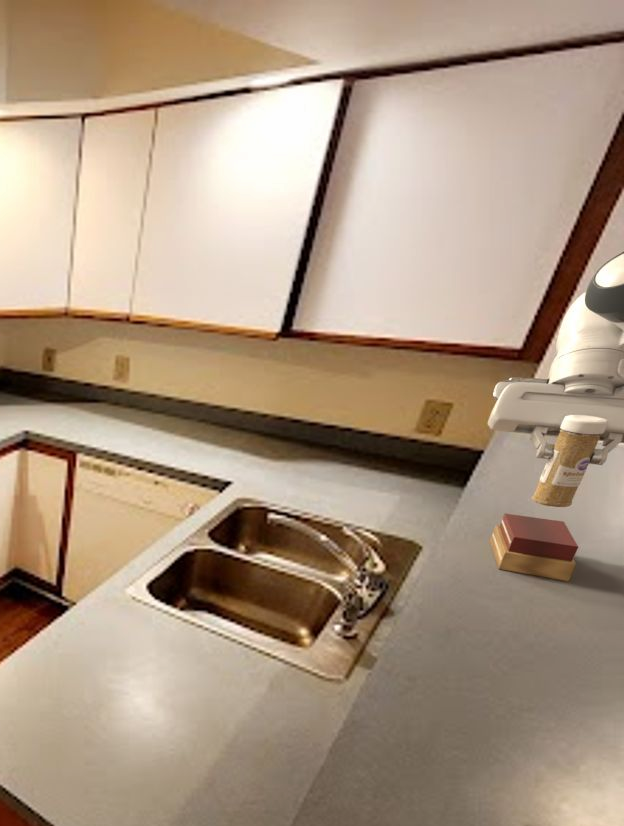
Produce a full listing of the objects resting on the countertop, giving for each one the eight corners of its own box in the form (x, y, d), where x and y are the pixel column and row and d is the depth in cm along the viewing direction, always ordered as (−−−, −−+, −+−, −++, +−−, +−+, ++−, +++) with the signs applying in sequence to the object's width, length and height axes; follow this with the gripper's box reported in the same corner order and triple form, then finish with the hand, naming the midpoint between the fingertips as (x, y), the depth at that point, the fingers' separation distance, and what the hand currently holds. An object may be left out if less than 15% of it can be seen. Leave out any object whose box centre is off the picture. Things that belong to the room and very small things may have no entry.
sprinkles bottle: (561, 510, 94) (599, 423, 88) (523, 500, 98) (558, 416, 92) (577, 504, 95) (616, 418, 90) (540, 495, 99) (575, 412, 93)
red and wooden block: (553, 550, 103) (566, 520, 100) (568, 581, 94) (583, 548, 92) (489, 540, 107) (500, 511, 105) (497, 568, 98) (510, 537, 96)
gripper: (503, 365, 99) (484, 439, 96) (697, 374, 87) (682, 460, 85) (491, 387, 104) (473, 459, 101) (674, 400, 92) (658, 481, 90)
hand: (570, 459), depth 93 cm, fingers closed on sprinkles bottle, 4 cm apart
